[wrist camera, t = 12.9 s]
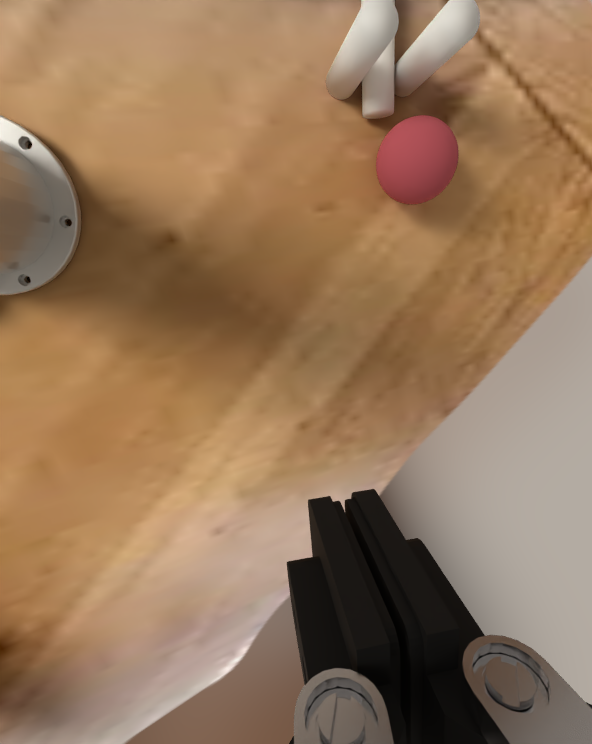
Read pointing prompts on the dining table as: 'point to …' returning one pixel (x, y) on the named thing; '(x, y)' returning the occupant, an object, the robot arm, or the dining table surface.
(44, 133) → the dining table surface
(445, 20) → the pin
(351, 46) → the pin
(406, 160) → the ball
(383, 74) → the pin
